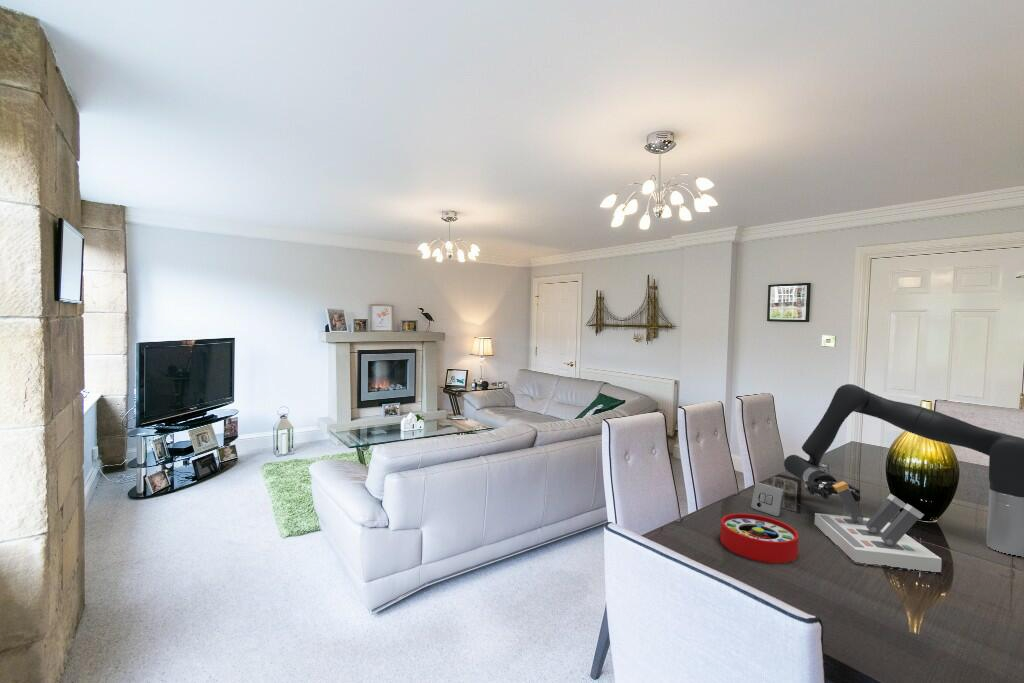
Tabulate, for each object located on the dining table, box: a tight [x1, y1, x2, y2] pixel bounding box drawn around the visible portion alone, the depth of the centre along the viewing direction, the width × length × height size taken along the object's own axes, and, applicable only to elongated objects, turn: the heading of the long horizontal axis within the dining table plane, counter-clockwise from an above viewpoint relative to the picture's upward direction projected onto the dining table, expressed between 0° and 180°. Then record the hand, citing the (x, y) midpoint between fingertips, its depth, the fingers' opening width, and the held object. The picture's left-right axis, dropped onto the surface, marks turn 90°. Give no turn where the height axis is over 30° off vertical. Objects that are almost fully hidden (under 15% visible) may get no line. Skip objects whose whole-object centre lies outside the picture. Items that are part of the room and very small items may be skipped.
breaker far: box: [880, 503, 925, 545], centre depth 129 cm, size 3×3×12 cm
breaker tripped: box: [832, 480, 865, 522], centre depth 146 cm, size 3×3×12 cm
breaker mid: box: [866, 493, 907, 533], centre depth 137 cm, size 3×3×12 cm
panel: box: [814, 512, 942, 573], centre depth 138 cm, size 20×26×4 cm
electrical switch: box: [750, 482, 785, 517], centre depth 164 cm, size 9×5×9 cm, turn 35°
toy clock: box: [719, 513, 800, 564], centre depth 137 cm, size 20×6×20 cm
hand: (842, 497), depth 145 cm, fingers open, 8 cm apart
